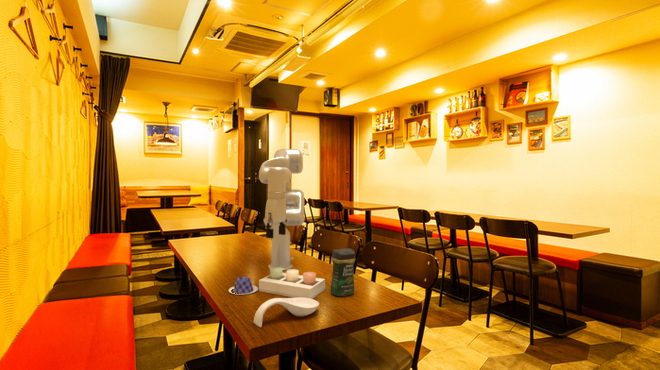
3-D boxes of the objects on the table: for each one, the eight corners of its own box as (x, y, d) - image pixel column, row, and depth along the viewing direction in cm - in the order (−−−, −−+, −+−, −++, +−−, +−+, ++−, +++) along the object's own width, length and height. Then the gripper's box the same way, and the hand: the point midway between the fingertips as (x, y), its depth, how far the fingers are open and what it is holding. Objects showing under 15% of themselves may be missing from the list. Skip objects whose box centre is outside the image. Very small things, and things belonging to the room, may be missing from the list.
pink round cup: (306, 282, 142) (306, 271, 142) (317, 284, 140) (317, 272, 140) (300, 286, 138) (300, 274, 137) (312, 288, 135) (312, 276, 135)
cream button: (290, 280, 146) (290, 268, 145) (300, 281, 143) (300, 270, 143) (283, 283, 141) (283, 271, 141) (294, 285, 139) (294, 273, 139)
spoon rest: (306, 304, 128) (306, 285, 128) (325, 314, 119) (325, 294, 119) (248, 320, 113) (248, 299, 113) (265, 333, 104) (266, 310, 104)
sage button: (274, 277, 149) (274, 266, 149) (284, 279, 147) (284, 267, 146) (267, 280, 144) (267, 269, 144) (278, 282, 142) (278, 270, 142)
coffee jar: (337, 298, 134) (338, 252, 133) (327, 292, 141) (328, 248, 140) (357, 294, 138) (358, 249, 138) (347, 288, 145) (348, 246, 145)
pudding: (227, 288, 144) (227, 275, 144) (255, 285, 149) (255, 273, 149) (229, 297, 133) (229, 284, 133) (260, 294, 138) (260, 281, 137)
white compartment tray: (276, 281, 153) (277, 271, 153) (324, 289, 144) (325, 279, 144) (258, 290, 141) (258, 280, 140) (310, 300, 131) (310, 289, 131)
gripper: (280, 194, 153) (279, 232, 154) (257, 196, 138) (256, 238, 138) (294, 195, 150) (293, 234, 151) (272, 197, 135) (272, 240, 135)
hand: (276, 236), depth 145 cm, fingers open, 9 cm apart
